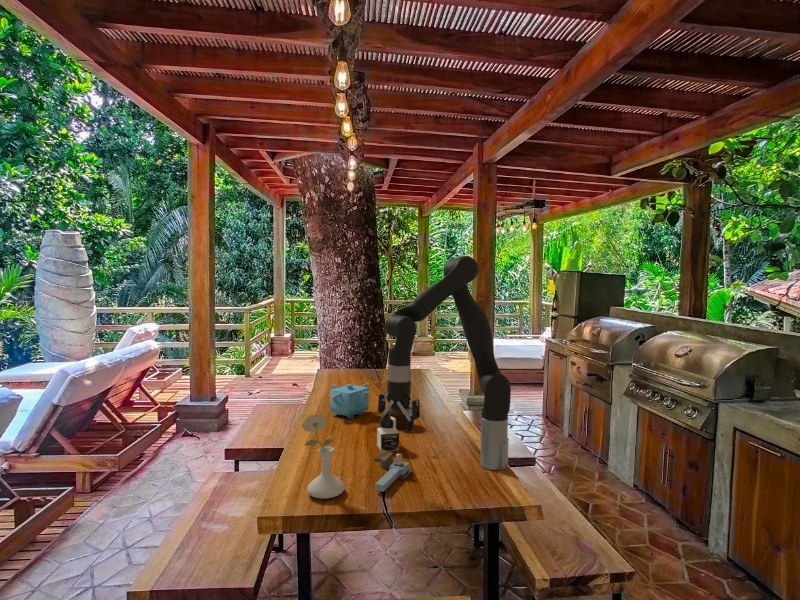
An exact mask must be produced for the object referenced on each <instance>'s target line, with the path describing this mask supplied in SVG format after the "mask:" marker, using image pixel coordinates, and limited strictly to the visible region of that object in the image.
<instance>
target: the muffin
mask: <svg viewBox="0 0 800 600" xmlns="http://www.w3.org/2000/svg"><path fill="white" fill-rule="evenodd" d="M411 409H412V407H411ZM406 410H407V409H406ZM389 415H390V416H391V417H394V418H395V419H396V428H397V430H407V421H408V419H407V418H406V416H405V415H404V414H403V412H402V411H401V412H400V411H397V410H393V409H392V411H391V412H390V413H389Z"/></svg>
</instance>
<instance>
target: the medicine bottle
mask: <svg viewBox="0 0 800 600" xmlns="http://www.w3.org/2000/svg"><path fill="white" fill-rule="evenodd" d="M379 422H380V423H379V427H377V428H376V434H377V435H376V446H377V447H378V449H379V451H380V453H381V452H382V451H387V452H395V451H399V450H400V432H399V431H398V429H396V419H395V418H394V417H391V416H390V426H389V427H384V424H383V417H381V418H380V419H379Z"/></svg>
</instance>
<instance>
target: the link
mask: <svg viewBox="0 0 800 600" xmlns="http://www.w3.org/2000/svg"><path fill="white" fill-rule="evenodd" d="M409 469H410V463H409V462H406V461H405V462H404V461H402V467H397V466H396V460H393V463H392V464H391V465H390V466H389V469H388V471H387V472H386V473H385V474H384V475H383V476H382V477H380V479H379V480H377V481H376V483H375V484H374V487H375V489H374V490H375V491H378V492H385V491H386V490H387V489H388V488H389V487H390V486H391V485H392V484H393V483H394V482H395V481H396V478H397V477H398V476H399V475H404V474H405V473H406V472H407V471H408V470H409Z"/></svg>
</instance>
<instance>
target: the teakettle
mask: <svg viewBox="0 0 800 600" xmlns="http://www.w3.org/2000/svg"><path fill="white" fill-rule="evenodd" d="M369 384H370V383H369V382H366V383H364V384H363V385H362V386H361V385H356V384H352V383H347V384H346V385H343V386H340V387H339V386H338V385H336V384H334V383H332V384H330V385H331V387H333V388H332V389H330V413H333V414H335V415H339V416H338V417H340V415H342V416H343V417H344V416H345V417H346V419H347V418H349V420H351V418H352V419H354V416H355V415H358V416H364V413H363V412H366V411H369V408H370V407H369V405H370V404H369V403H370V402H369V401H370V400H369V397H370V394H369V393H370V391H369V390H370V389H369V387H367V386H368V385H369Z"/></svg>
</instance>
